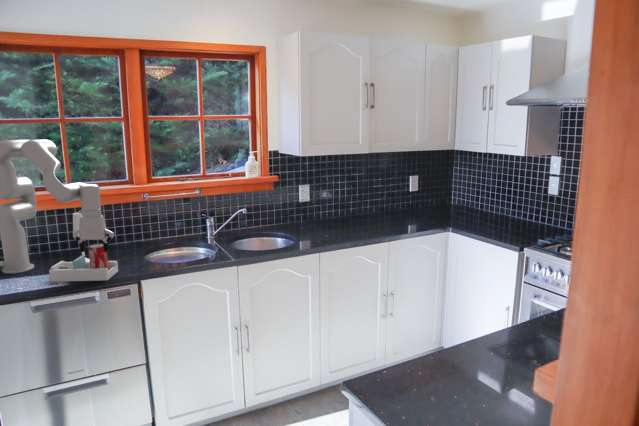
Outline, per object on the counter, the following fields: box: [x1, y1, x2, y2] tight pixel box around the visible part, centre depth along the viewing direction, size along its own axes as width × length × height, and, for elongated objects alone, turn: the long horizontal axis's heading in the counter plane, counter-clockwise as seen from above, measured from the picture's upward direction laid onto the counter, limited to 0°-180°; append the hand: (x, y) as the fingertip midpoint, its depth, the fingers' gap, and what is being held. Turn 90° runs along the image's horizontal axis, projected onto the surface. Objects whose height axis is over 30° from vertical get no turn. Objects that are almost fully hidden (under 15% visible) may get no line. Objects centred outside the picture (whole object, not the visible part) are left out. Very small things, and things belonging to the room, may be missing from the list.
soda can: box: [88, 243, 109, 270], centre depth 204 cm, size 7×7×13 cm
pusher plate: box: [71, 255, 86, 269], centre depth 204 cm, size 2×8×7 cm, turn 2°
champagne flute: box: [72, 211, 90, 262], centre depth 225 cm, size 7×7×24 cm
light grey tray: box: [48, 260, 119, 283], centre depth 204 cm, size 24×12×6 cm, turn 92°
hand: (95, 251), depth 203 cm, fingers open, 9 cm apart
